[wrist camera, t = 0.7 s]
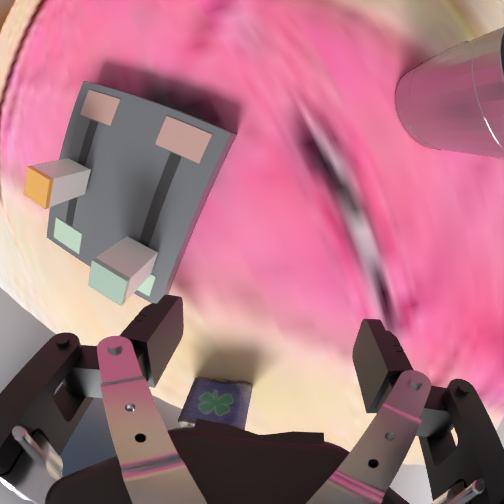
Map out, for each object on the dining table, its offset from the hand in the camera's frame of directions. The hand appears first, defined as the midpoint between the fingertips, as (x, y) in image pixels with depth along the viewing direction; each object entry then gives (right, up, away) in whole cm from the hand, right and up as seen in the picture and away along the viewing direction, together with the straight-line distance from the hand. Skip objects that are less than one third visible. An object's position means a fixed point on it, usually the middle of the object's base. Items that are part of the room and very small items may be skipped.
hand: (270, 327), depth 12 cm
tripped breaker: (-21, +12, +14) cm, 28 cm away
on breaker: (-13, +3, +17) cm, 22 cm away
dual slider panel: (-15, +11, +18) cm, 26 cm away
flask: (-5, -17, +28) cm, 33 cm away
